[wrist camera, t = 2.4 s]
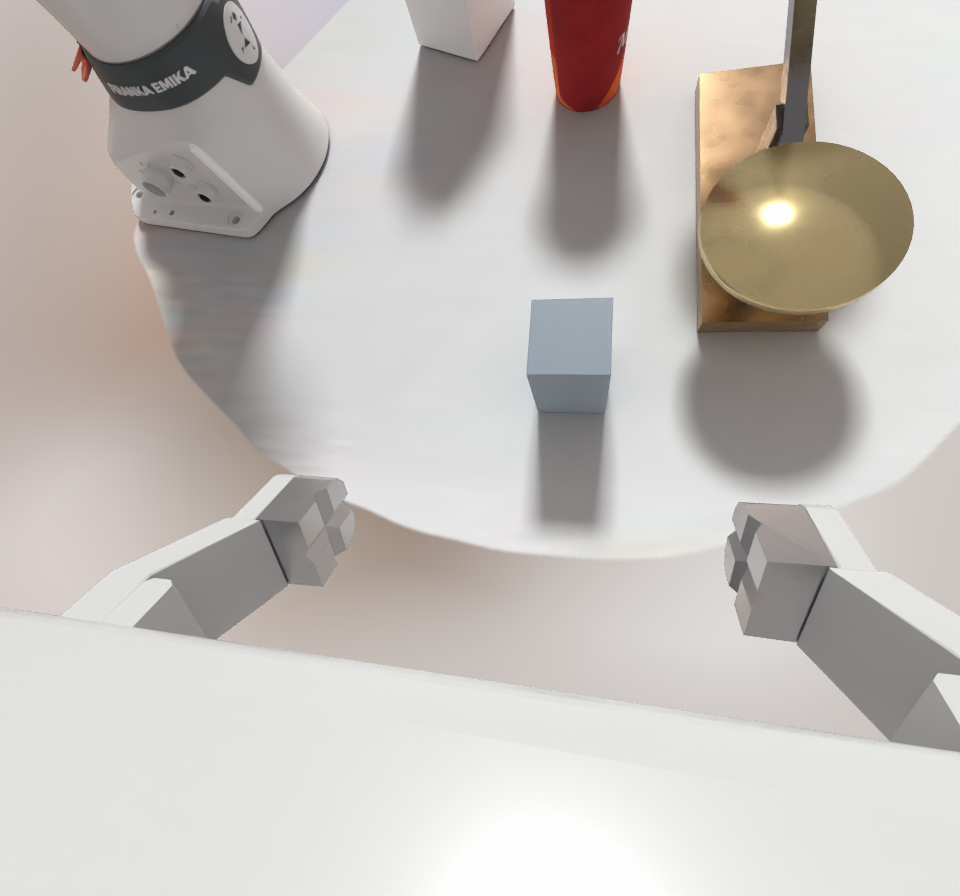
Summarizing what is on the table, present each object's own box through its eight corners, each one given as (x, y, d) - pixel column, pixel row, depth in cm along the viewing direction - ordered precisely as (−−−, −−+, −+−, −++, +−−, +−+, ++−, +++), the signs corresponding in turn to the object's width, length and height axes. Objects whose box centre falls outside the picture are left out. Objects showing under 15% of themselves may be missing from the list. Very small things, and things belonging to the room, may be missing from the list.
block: (538, 411, 37) (526, 374, 29) (542, 351, 38) (531, 300, 30) (604, 413, 36) (610, 374, 28) (606, 351, 37) (613, 297, 29)
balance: (675, 363, 35) (731, 248, 22) (676, 69, 41) (721, -162, 28) (844, 363, 33) (1019, 234, 20) (820, 51, 38) (945, -213, 25)
